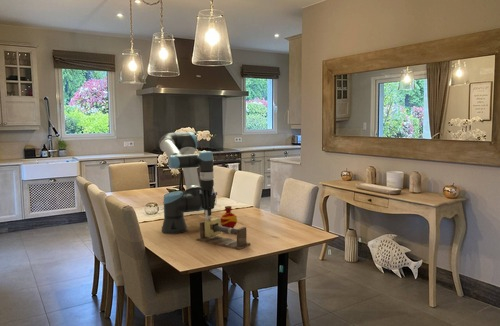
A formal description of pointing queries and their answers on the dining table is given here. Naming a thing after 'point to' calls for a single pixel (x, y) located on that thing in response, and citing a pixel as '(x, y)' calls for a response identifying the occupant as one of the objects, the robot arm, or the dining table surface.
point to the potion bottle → (228, 218)
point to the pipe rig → (225, 242)
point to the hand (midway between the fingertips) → (208, 221)
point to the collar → (209, 227)
